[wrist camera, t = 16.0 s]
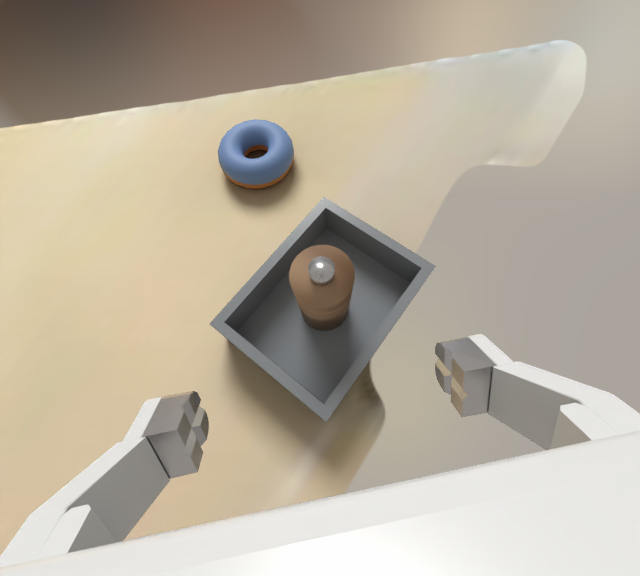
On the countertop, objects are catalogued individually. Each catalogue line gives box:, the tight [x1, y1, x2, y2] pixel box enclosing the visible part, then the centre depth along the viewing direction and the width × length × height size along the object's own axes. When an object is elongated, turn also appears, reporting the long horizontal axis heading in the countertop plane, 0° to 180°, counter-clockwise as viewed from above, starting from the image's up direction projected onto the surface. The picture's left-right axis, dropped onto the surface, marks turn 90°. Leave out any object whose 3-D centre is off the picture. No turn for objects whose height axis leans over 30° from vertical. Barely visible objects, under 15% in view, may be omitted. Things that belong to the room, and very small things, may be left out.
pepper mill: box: [289, 245, 355, 331], centre depth 28 cm, size 5×5×11 cm
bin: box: [210, 197, 436, 422], centre depth 32 cm, size 18×14×5 cm
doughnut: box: [218, 120, 294, 189], centre depth 40 cm, size 10×10×5 cm
